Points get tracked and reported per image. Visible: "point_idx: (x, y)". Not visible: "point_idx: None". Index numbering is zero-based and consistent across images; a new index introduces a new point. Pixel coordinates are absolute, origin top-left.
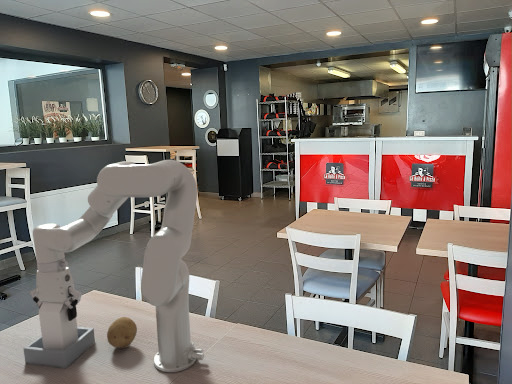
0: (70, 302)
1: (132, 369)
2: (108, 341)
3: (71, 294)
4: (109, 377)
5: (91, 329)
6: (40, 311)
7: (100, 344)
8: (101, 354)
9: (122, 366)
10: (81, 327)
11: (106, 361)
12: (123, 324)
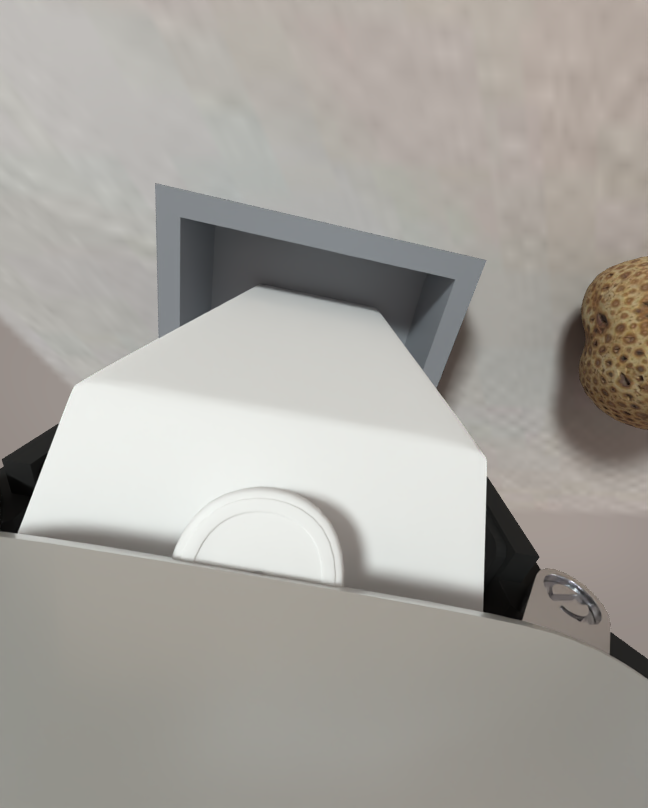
0: (433, 491)
1: (638, 468)
2: (587, 393)
3: (559, 662)
4: (552, 502)
5: (474, 279)
6: None
7: (483, 280)
8: (503, 370)
9: (600, 451)
10: (389, 244)
11: (532, 420)
12: None
